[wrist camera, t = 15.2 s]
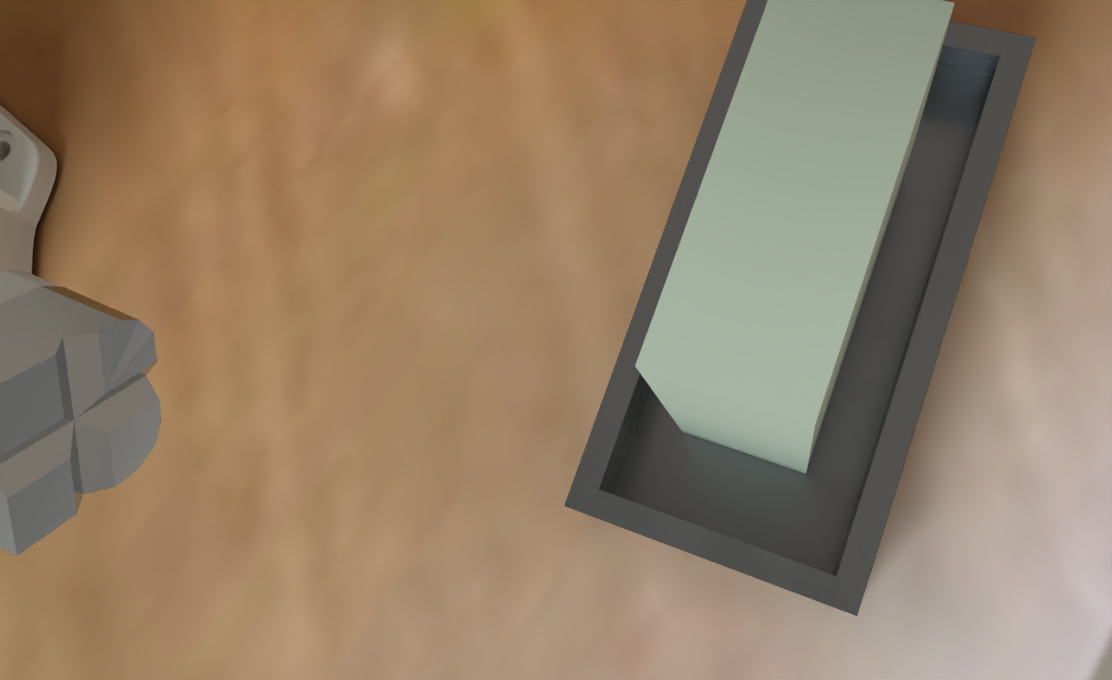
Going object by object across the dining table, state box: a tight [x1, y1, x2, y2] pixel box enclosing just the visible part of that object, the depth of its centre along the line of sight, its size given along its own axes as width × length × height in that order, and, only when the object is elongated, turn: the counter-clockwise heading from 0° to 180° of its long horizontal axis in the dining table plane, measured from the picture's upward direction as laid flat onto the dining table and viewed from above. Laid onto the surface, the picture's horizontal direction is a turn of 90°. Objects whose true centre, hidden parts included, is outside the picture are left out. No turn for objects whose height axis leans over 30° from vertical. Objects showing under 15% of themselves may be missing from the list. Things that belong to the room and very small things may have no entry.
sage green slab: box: [635, 0, 955, 474], centre depth 26 cm, size 4×10×10 cm, turn 159°
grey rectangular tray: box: [565, 0, 1036, 616], centre depth 30 cm, size 9×18×3 cm, turn 159°
